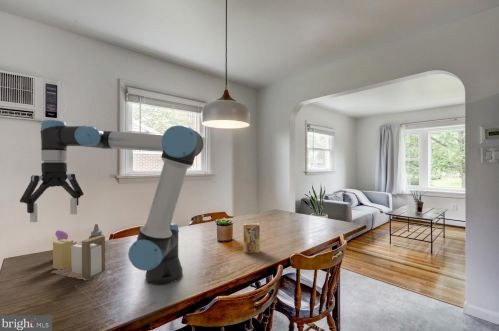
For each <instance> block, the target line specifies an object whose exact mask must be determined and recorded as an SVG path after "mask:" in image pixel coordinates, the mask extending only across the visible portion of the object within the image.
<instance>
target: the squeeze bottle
mask: <svg viewBox="0 0 499 331" xmlns="http://www.w3.org/2000/svg"><path fill="white" fill-rule="evenodd" d="M97 236H105V235H104V233H103V231H102V230H100V228H99V224H98V223H95V224H94V227H93V230H92V231H91V232H90V236H89V237H88V239H90V238H94V237H97ZM93 244H97V242H96V243H93ZM106 251H107V250H106V249H105V252H106Z"/></svg>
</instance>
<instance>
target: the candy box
mask: <svg viewBox="0 0 499 331" xmlns="http://www.w3.org/2000/svg"><path fill="white" fill-rule="evenodd" d="M260 228H261V227H260V223H259V222H257V223H249V222H248V223H243V253H260V244H261V242H260V236H261V234H260V233H261V232H260V231H261V229H260Z"/></svg>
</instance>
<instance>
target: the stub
mask: <svg viewBox="0 0 499 331" xmlns="http://www.w3.org/2000/svg"><path fill="white" fill-rule="evenodd" d="M73 242H74V240H73V239H62V240H59V241H58V240H56V241H53V242H52V259H53V260H52V268H53V269H60V270H63V269H66V268H68V267H71V246H72V245H73Z"/></svg>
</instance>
